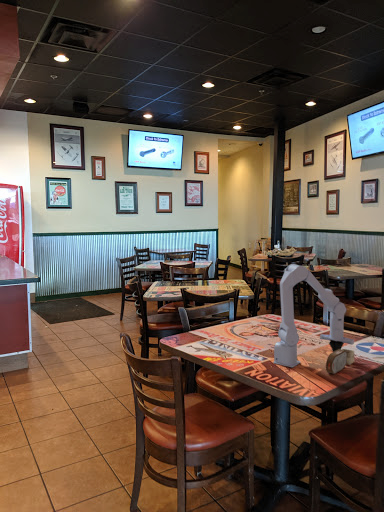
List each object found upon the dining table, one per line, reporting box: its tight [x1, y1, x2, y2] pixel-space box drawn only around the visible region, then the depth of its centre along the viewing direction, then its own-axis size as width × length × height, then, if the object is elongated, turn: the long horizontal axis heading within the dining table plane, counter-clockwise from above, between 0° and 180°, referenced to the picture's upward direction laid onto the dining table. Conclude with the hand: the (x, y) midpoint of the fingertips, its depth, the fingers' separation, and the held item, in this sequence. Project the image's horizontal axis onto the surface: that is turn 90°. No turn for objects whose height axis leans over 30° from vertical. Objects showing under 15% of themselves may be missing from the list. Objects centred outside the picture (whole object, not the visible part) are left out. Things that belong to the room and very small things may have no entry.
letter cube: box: [341, 348, 355, 366], centre depth 172 cm, size 5×5×5 cm
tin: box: [325, 348, 347, 375], centre depth 162 cm, size 15×3×8 cm, turn 135°
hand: (336, 357), depth 175 cm, fingers closed
